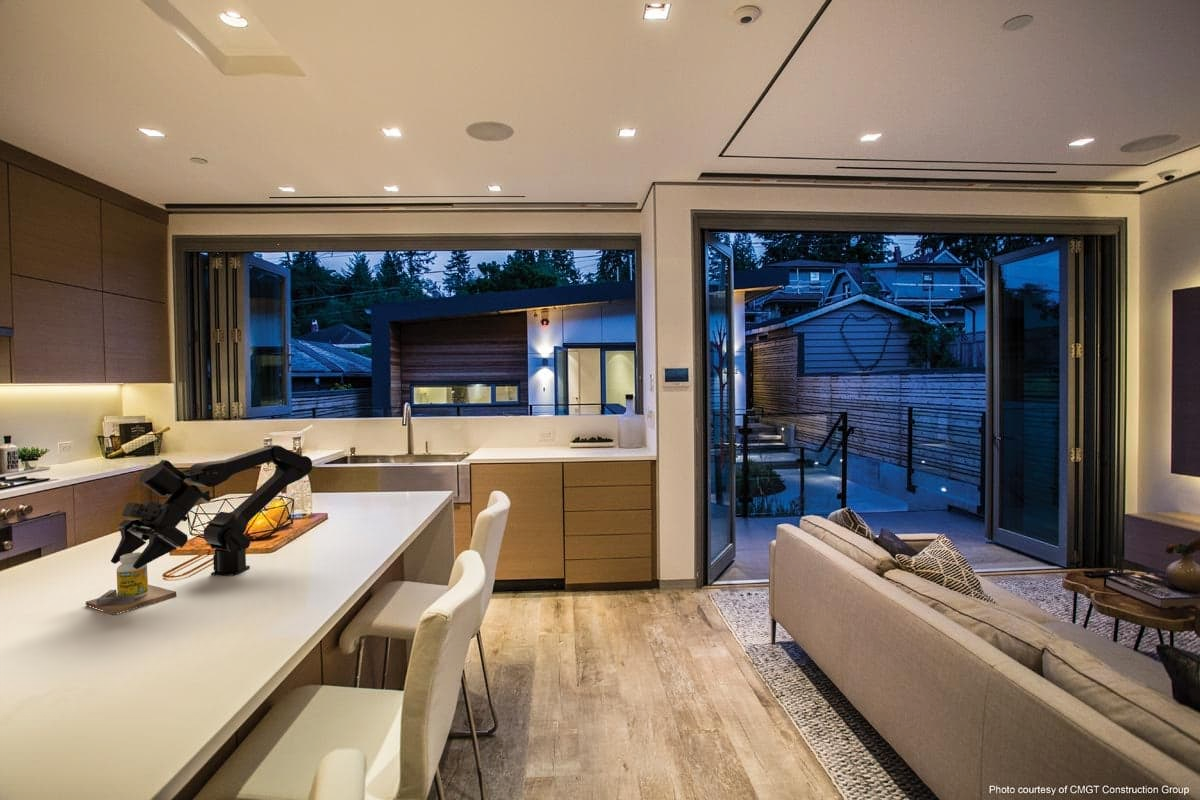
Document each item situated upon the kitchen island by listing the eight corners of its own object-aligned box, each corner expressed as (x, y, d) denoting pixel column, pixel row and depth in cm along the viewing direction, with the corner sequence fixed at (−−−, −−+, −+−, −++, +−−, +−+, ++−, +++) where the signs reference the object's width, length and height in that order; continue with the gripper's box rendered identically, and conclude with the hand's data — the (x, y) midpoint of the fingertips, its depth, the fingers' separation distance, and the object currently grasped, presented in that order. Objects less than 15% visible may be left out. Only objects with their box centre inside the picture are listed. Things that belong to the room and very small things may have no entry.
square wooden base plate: (148, 588, 136) (147, 578, 136) (176, 595, 131) (176, 585, 131) (84, 606, 125) (83, 595, 125) (112, 615, 120) (111, 604, 120)
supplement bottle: (149, 590, 132) (148, 549, 132) (146, 597, 128) (145, 555, 127) (119, 595, 129) (118, 553, 129) (115, 602, 125) (114, 559, 124)
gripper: (127, 484, 135) (69, 542, 125) (171, 490, 127) (114, 552, 117) (165, 510, 142) (113, 566, 133) (209, 517, 134) (158, 577, 125)
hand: (123, 565), depth 127 cm, fingers open, 9 cm apart
